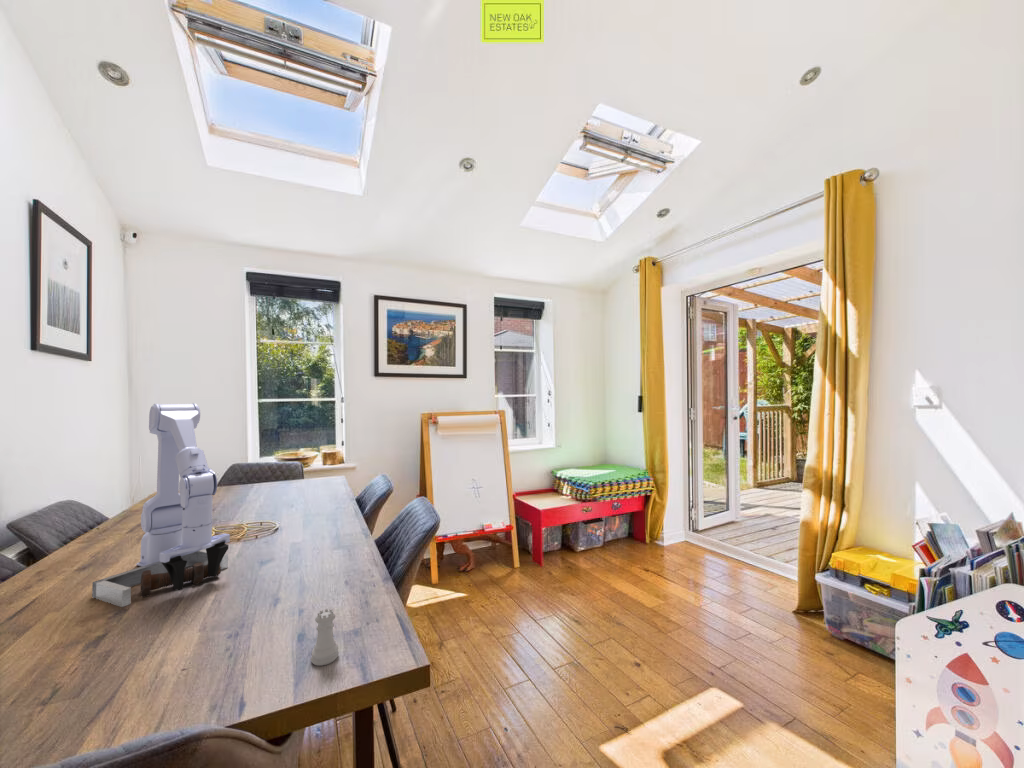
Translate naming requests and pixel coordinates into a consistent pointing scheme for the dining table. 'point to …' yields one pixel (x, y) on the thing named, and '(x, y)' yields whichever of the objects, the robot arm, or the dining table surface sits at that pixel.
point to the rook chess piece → (324, 640)
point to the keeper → (139, 579)
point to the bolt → (164, 579)
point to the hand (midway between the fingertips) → (195, 582)
